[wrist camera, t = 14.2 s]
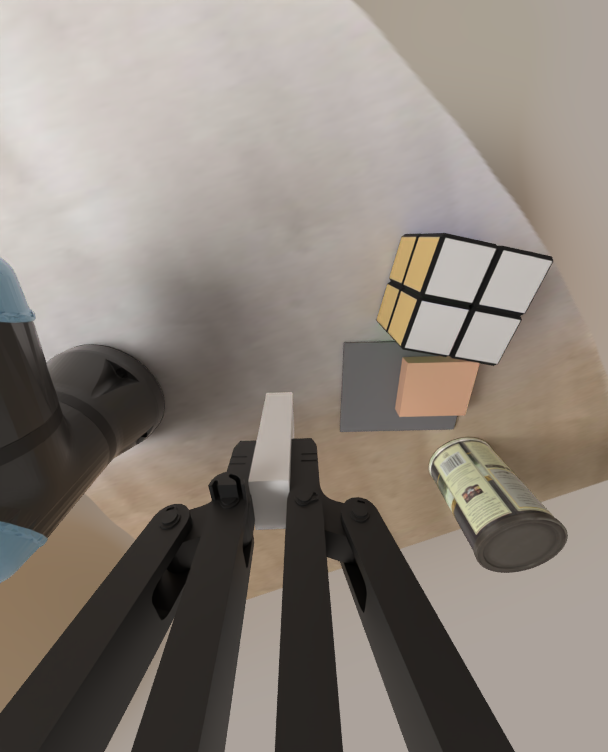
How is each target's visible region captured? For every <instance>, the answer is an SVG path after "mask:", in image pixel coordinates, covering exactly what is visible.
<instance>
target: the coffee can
mask: <svg viewBox="0 0 608 752" xmlns="http://www.w3.org/2000/svg"><path fill="white" fill-rule="evenodd" d="M429 472H430V475H431V476H432V478H433V479H434V481H435V483H436V484H437V486H438V488H439V490H440V491H441V493H442V495H443V497H444V499H445V501H446V502H447V504H448V506H449V508H450V510H451V511H452V513H453V515H454V517H455V518H456V520H457V522H458V524H459V526H460V528H461V529H462V531H463V533H464V535H465V536H466V538H467V540H468V542H469V543H470V545H471V547H472V549H473V551H474V554H475V557H476V559H477V561H478V562H479V563H480V565H482V566H483V567H484V568H486V569H488V570H491V571H495V572H501V573H502V572H504V573H509V572H519V571H523V570H527V569H531V568H534V567H536V566H539V565H541V564H543V563H545V562H547V561H548V560H550V559H551V558H553V557H554V556H555V555H557V554H558V553H559V552H560V551H561V550H562V548H563V547H564V545H565V543H566V541H567V536H568V535H567V530H566V528H565V527H564V526H563V525H562V523H560V522H559V521H558V520H557V519H556V518H554V516H552V514H551V513H550V512H549V511H548V510H547V509H546V508H545V507H544V505H542V503H541V502H540V501H539V500H538V499H537V498H536V497H535V496H534V495H533V494H532V492H531V491H530V490H529V489H528V488H527V487H526V486H525V485H524V484H523V483H522V481H521V480H520V479H519V478H518V477H517V476H516V475H515V474H514V473H513V472H512V470H511V469H510V468H509V467H508V466H507V465H506V464H505V463H504V462H503V461H502V460H501V458H500V457H499V456H498V455H497V454H496V453H495V452H494V451H493V450H492V448H491V447H490V446H489V444H487V443H486V442H485V441H483V440H481V439H477V438H460V439H456V440H453V441H450V442H448V443H446V444H445V445H443V446H442V447H440V448H439V449H438V450H437V451H436V452H435V453H434V455H433V456H432V458H431V460H430V463H429Z"/></svg>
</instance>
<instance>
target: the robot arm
mask: <svg viewBox="0 0 608 752" xmlns="http://www.w3.org/2000/svg"><path fill="white" fill-rule="evenodd" d="M35 318H36V317H35V313H34V312H33V311H32V310H31V309H29V306H28V304H27V301H26V299H25V296H24V294H23V291H22V289H21V286H20V284H19V281H18V278H17V276H16V274H15V272H14V270H13V269H12V267H11V266H10V265H9V264H8V263H7V262H6V261H5V260H4V259H2V258H1V257H0V583H1V582H3V581H5V580H6V579H8V578H9V577H11V576H12V575H13V574H14V573H15V572H16V571H17V570H18V569H19V568H20V567H21V566H22V565H23V564H24V562H25V561H27V560H28V559H29V557H30V556H31V555H32V554H33V553H34V552H35V551H36V550H37V549H38V548H39V547H41V546H43V545H44V544H45V543H46V541H47V538H48V537H49V536H50V534H51V533H52V532H53V531H54V530H55V528H56V527H57V526H58V525H59V523H60V522H61V521H62V520H63V519H64V517H65V516H66V515H67V514H68V512H69V511H70V510H71V509H72V508H73V506H74V505H75V504H76V503H77V502H78V500H79V499H80V498H81V497H82V495H83V494H84V493H85V492H86V491H87V489H88V488H89V487H90V486H91V484H92V483H93V482H94V481H95V480H96V478H97V477H98V476H99V475H100V474H101V472H102V471H103V470H104V469H105V468H106V466H107V465H108V464H109V463H110V462H111V461H112V459H114V458H115V457H117V456H119V455H120V454H122V453H124V452H125V451H127V450H129V449H130V448H132V447H134V446H135V445H137V444H139V443H140V442H142V441H143V440H145V439H146V438H147V437H148V436H149V435H150V434H151V433H152V432H153V431H154V429H155V428H156V427H157V425H158V424H159V423H160V421H161V419H162V417H163V413H164V397H163V393H162V391H161V388H160V386H159V384H158V382H157V381H156V379H155V378H154V376H153V375H152V374H151V373H150V372H149V370H148V369H147V368H146V367H144V366H143V365H142V364H141V363H140V362H138V361H137V360H136V359H134V358H133V357H131V356H129V355H127V354H126V353H123V352H121V351H119V350H116V349H113V348H110V347H106V346H101V345H81V346H76V347H73V348H71V349H68V350H66V351H64V352H62V353H60V354H58V355H56V356H54V357H53V358H51V359H50V360H49V361H48V362H47V363H46V360H45V357H44V354H43V351H42V348H41V344H40V341H39V338H38V335H37V332H36V328H35V325H34V322H33V321H34V320H35ZM208 486H209V490H210V494H211V498H212V501H211V502H210V503H208V504H206V505H203V506H201V507H197V508H194V509H191V510H189V509H188V508H187V506H185V505H182V504H173V505H170V506H167V507H165V508H163V509H162V510H160V511H159V512H158V513H157V514H156V515H155V516H154V517H153V518H152V520H151V521H150V522H149V524H148V525H147V526H146V527H145V529H144V530H143V531H142V533H141V534H140V535H139V536H138V538H137V539H136V540H135V542H134V543H133V544H132V545H131V547H130V548H129V549H128V550H127V552H126V553H125V554H124V556H123V557H122V558H121V560H120V561H119V562H118V564H117V565H116V566H115V567H114V568H113V570H112V571H111V572H110V574H109V575H108V576H107V577H106V579H105V580H104V581H103V583H102V584H101V585H100V586H99V588H98V589H97V590H96V591H95V593H94V594H93V595H92V597H91V598H90V599H89V600H88V602H87V603H86V604H85V606H84V607H83V608H82V610H81V611H80V612H79V613H78V615H77V616H76V617H75V618H74V620H73V621H72V622H71V623H70V625H69V626H68V627H67V629H66V630H65V631H64V632H63V634H62V635H61V636H60V638H59V639H58V640H57V642H56V643H55V644H54V645H53V647H52V648H51V649H50V650H49V652H48V653H47V654H46V655H45V657H44V658H43V659H42V661H41V662H40V663H39V665H38V666H37V667H36V668H35V670H34V671H33V672H32V673H31V675H30V676H29V677H28V679H27V680H26V681H25V682H24V684H23V685H22V686H21V688H20V689H19V690H18V691H17V693H16V694H15V695H14V696H13V698H12V699H11V700H10V702H9V703H8V704H7V705H6V707H5V708H4V709H3V711H2V712H1V713H0V752H104V751H105V749H106V747H107V745H108V743H109V741H110V740H111V738H112V736H113V734H114V732H115V730H116V728H117V726H118V724H119V722H120V721H121V719H122V716H123V715H124V713H125V711H126V709H127V707H128V705H129V703H130V701H131V700H132V697H133V696H134V694H135V692H136V690H137V688H138V686H139V684H140V682H141V680H142V678H143V677H144V675H145V673H146V671H147V669H148V667H149V665H150V663H151V661H152V659H153V657H154V655H155V654H156V652H157V650H158V648H159V646H160V644H161V642H162V640H163V638H164V636H165V634H166V632H167V631H168V629H169V627H170V625H171V623H172V621H173V619H174V621H173V624H172V627H171V630H170V633H169V636H168V639H167V642H166V645H165V648H164V652H163V655H162V658H161V661H160V664H159V668H158V670H157V673H156V676H155V679H154V683H153V686H152V689H151V692H150V695H149V698H148V701H147V704H146V707H145V710H144V713H143V717H142V720H141V723H140V726H139V729H138V732H137V735H136V738H135V741H134V745H133V748H132V751H131V752H224V750H225V744H226V737H227V729H228V723H229V716H230V709H231V701H232V695H233V688H234V681H235V673H236V666H237V659H238V652H239V646H240V638H241V631H242V624H243V618H244V611H245V604H246V597H247V590H248V583H249V576H250V569H251V561H252V554H253V547H254V537H253V530H254V524H255V528H256V530H262V529H286V531H285V552H284V573H283V594H282V615H281V636H280V658H279V676H278V677H279V678H278V697H277V718H276V740H275V752H343V746H342V734H341V722H340V711H339V698H338V687H337V675H336V662H335V650H334V639H333V627H332V615H331V603H330V592H329V581H328V580H329V579H328V567H327V557H329V558H332V559H335V560H338V561H340V563H341V566H342V569H343V571H344V574H345V577H346V580H347V582H348V585H349V588H350V591H351V593H352V596H353V599H354V602H355V605H356V608H357V610H358V613H359V616H360V619H361V621H362V624H363V627H364V630H365V632H366V635H367V638H368V641H369V643H370V646H371V649H372V652H373V654H374V657H375V660H376V663H377V666H378V668H379V671H380V674H381V677H382V679H383V682H384V685H385V688H386V690H387V693H388V696H389V699H390V701H391V704H392V707H393V710H394V713H395V715H396V718H397V721H398V724H399V726H400V729H401V732H402V735H403V737H404V740H405V743H406V745H407V748H408V751H409V752H515V751H514V750H513V748H512V746H511V744H510V743H509V741H508V739H507V737H506V735H505V734H504V732H503V730H502V728H501V727H500V725H499V723H498V722H497V720H496V718H495V716H494V714H493V713H492V711H491V709H490V707H489V705H488V704H487V702H486V700H485V698H484V697H483V695H482V693H481V691H480V690H479V688H478V687H477V684H476V683H475V681H474V679H473V677H472V676H471V674H470V672H469V670H468V669H467V667H466V665H465V663H464V662H463V660H462V658H461V656H460V654H459V653H458V651H457V649H456V647H455V646H454V644H453V642H452V641H451V639H450V637H449V635H448V633H447V632H446V630H445V628H444V626H443V625H442V623H441V621H440V619H439V618H438V616H437V614H436V612H435V610H434V609H433V607H432V605H431V603H430V602H429V600H428V598H427V596H426V595H425V593H424V591H423V589H422V588H421V586H420V584H419V582H418V581H417V579H416V577H415V575H414V574H413V572H412V570H411V568H410V567H409V565H408V563H407V562H406V560H405V558H404V556H403V554H402V552H401V551H400V549H399V547H398V545H397V544H396V542H395V540H394V538H393V537H392V535H391V533H390V531H389V530H388V528H387V526H386V524H385V523H384V521H383V519H382V517H381V515H380V514H379V512H378V510H377V508H376V507H375V506H374V505H373V504H372V503H371V502H370V501H368V500H366V499H363V498H359V497H357V498H351V499H349V500H346V502H345V503H341V502H337V501H334V500H331V499H329V498H328V497H326V496H325V495H324V494H323V492H322V490H321V488H320V482H319V470H318V458H317V446H316V444H315V442H314V441H313V440H312V438H304V439H294V414H293V394H292V392H279V393H266V398H265V403H264V407H263V412H262V417H261V422H260V427H259V432H258V436H257V441H240V442H239V443H238V444H237V445H236V447H235V448H234V450H233V453H232V456H231V459H230V463H229V466H228V469H227V472H224V473H222V474H219V475H217V476H216V477H215V478H214V479H212V480H211V482H210V484H209V485H208ZM174 617H175V618H174Z"/></svg>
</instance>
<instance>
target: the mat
mask: <svg viewBox="0 0 608 752" xmlns="http://www.w3.org/2000/svg"><path fill="white" fill-rule="evenodd" d="M428 356H436V355H430V354H425V353H419V352H413V351H408V350H403V349H402V348H401V347H400V346H399V345H398V344H397V343H396V342H395V341H386V342H344V351H343V373H342V395H341V417H340V432H361V431H404V430H447V429H454V426H455V422H456V419H457V416H415V417H399V415H398V414H397V412H396V410H395V405H396V398H397V391H398V385H399V378H400V371H401V364H402V357H428Z"/></svg>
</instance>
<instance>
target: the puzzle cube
mask: <svg viewBox="0 0 608 752" xmlns="http://www.w3.org/2000/svg"><path fill="white" fill-rule="evenodd" d="M552 263H553V259H552V257H551V256H547V255H542V254H538V253H533V252H529V251H524V250H519V249H515V248H510V247H506V246H496V244H492V243H487V242H483V241H478V240H474V239H469V238H465V237H460V236H455V235H451V234H446V233H434V234H405V235H404V236H402V237H401V241H400V244H399V247H398V251H397V254H396V257H395V261H394V264H393V267H392V271H391V274H390V277H389V278H390V280H391V282H390V283H388V284H387V287H386V290H385V294H384V297H383V300H382V304H381V307H380V310H379V314H378V317H377V321H378V323H379V324H380V325H381V326H382V327H383V329H384V330H385V331H386V332H387V333H388V334H389V335H390V336H391V337H392V338H393V339H394V340H395V342H396V343H397V344H398V345H399V346H400V347H401V348H402V349H403V350H408V351H413V352H419V353H425V354H430V355H436V356H441V357H447V356H450V357H451V358H453V359H459V360H464V361H470V362H476V363H481V364H487V365H493V366H494V365H496V364H498V363H499V361H500V359H501V357H502V356H503V354H504V352H505V350H506V348H507V346H508V344H509V343H510V341H511V339H512V337H513V335H514V333H515V331H516V330H517V328H518V326H519V324H520V322H521V320H522V319H521V317H520V316H521V315H523V314H525V313H526V311H527V309H528V307H529V306H530V304H531V302H532V300H533V298H534V296H535V294H536V293H537V291H538V289H539V287H540V285H541V283H542V281H543V280H544V278H545V276H546V274H547V272H548V270H549V268H550V266H551V265H552Z"/></svg>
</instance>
